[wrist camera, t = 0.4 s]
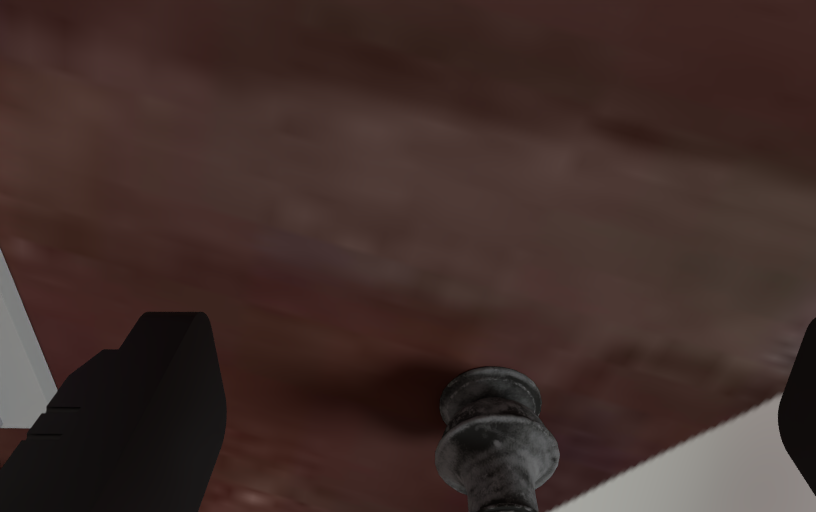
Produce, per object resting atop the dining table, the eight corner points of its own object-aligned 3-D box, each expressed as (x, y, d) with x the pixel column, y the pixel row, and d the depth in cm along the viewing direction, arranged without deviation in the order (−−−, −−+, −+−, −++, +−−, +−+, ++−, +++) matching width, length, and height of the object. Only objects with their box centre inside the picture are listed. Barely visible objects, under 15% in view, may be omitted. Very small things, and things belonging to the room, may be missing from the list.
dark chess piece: (514, 455, 36) (552, 697, 25) (416, 425, 34) (414, 666, 24) (568, 382, 33) (634, 624, 22) (462, 347, 31) (481, 585, 21)
